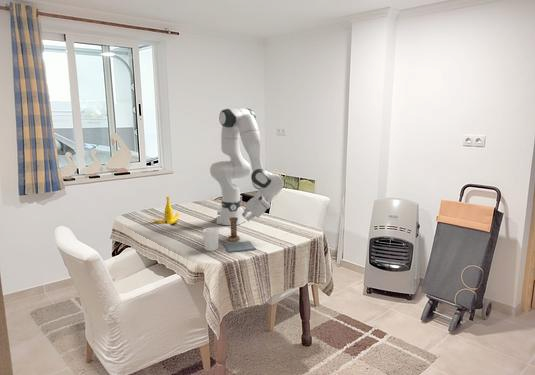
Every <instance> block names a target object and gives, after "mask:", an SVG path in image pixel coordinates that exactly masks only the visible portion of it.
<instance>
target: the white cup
mask: <svg viewBox="0 0 535 375" xmlns="http://www.w3.org/2000/svg"><path fill="white" fill-rule="evenodd" d="M202 231H203V233H202V234H203V243H204V250H205V251H207V252H213V251H217V250H219V241H220V240H219V238H220V235H219V234H220V230H219V228H218V227H207V228H204V229H203V230H202Z"/></svg>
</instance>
